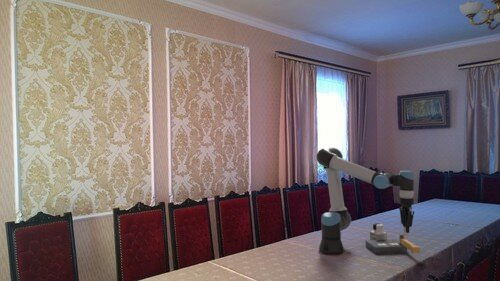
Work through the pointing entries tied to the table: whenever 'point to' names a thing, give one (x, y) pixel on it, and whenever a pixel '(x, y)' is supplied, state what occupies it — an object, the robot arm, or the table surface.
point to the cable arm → (409, 244)
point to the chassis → (385, 246)
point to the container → (378, 232)
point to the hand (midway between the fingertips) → (406, 237)
